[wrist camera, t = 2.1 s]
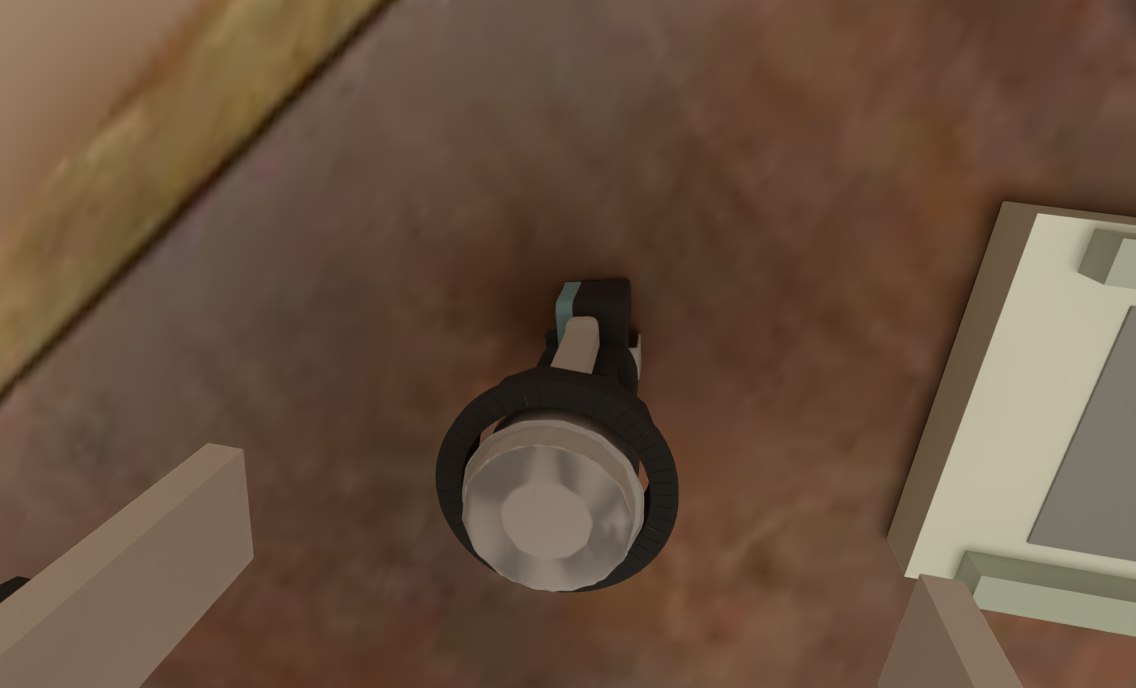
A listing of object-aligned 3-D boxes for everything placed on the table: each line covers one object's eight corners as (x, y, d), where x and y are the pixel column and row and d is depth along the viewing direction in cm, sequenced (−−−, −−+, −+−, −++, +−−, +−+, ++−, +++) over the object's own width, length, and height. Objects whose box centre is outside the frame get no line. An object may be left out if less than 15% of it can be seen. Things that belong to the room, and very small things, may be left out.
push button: (677, 448, 24) (681, 679, 15) (531, 447, 25) (446, 664, 16) (675, 266, 22) (676, 402, 12) (513, 271, 22) (401, 403, 13)
